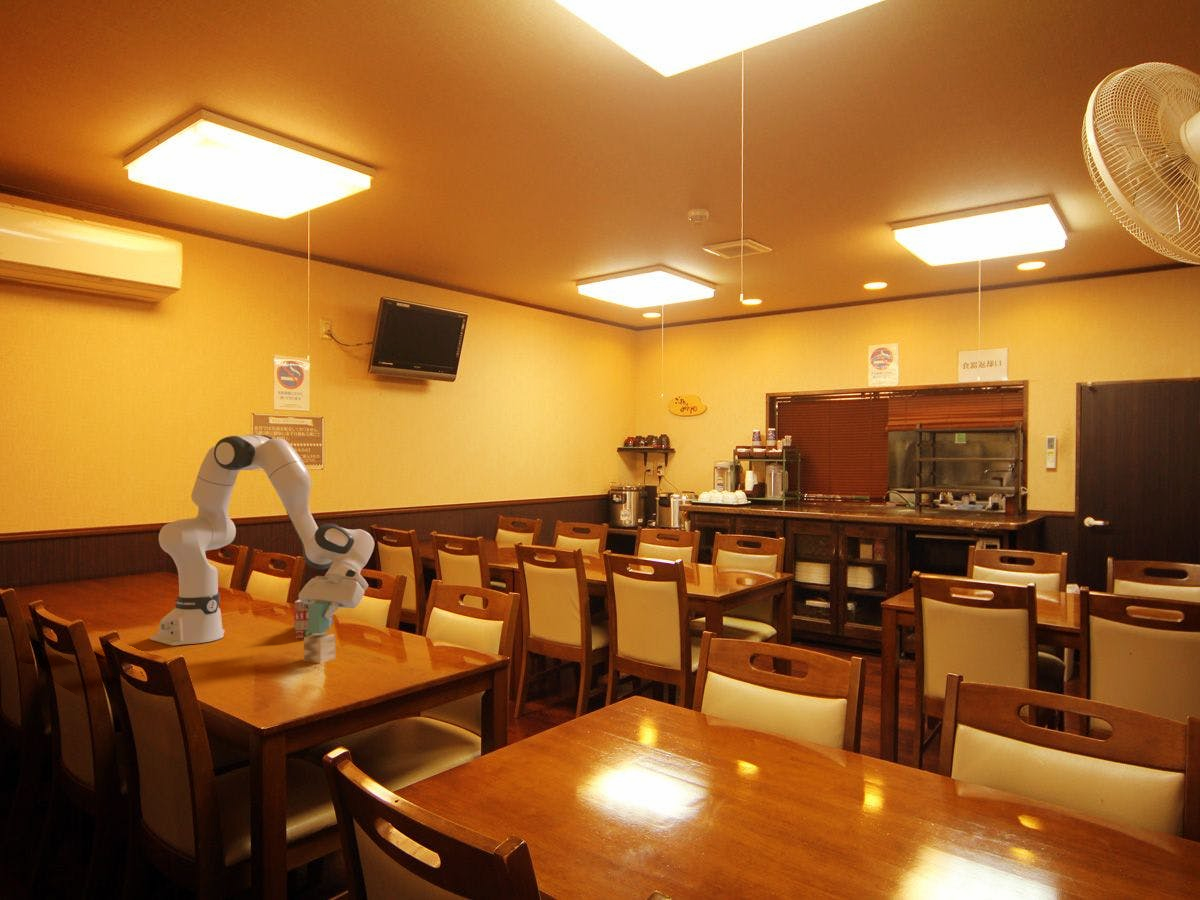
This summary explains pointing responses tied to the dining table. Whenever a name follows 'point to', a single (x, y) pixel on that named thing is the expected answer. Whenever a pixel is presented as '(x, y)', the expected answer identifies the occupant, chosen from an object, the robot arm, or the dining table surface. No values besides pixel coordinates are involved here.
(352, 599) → the robot arm
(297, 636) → the multicoloured boxy piece
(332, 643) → the tower top
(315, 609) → the pillar
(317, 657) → the tower base
